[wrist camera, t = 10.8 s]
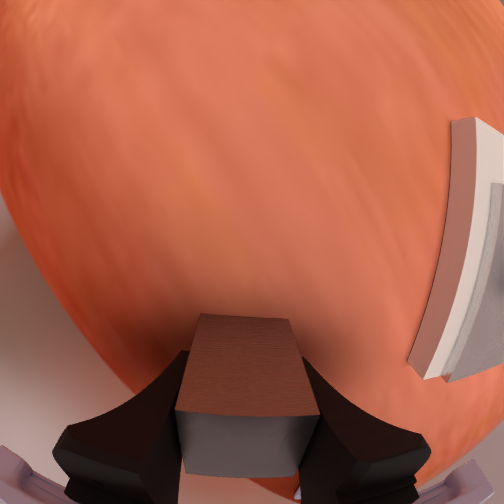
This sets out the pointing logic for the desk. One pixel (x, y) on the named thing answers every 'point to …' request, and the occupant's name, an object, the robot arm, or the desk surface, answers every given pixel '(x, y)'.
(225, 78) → the desk surface
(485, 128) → the kitchen scale
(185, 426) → the block
